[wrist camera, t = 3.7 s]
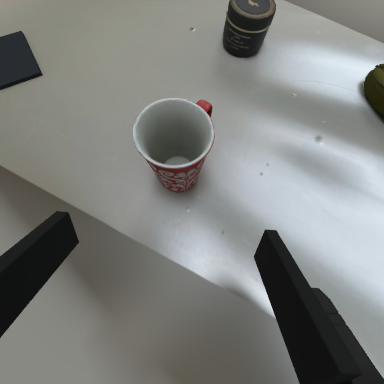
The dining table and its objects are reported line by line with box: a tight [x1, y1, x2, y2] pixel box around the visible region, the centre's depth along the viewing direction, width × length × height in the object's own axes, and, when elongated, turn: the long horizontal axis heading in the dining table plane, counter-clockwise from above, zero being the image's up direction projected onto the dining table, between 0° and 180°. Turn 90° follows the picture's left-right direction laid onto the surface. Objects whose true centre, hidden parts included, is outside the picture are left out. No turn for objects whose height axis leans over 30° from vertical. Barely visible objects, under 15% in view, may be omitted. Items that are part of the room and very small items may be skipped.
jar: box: [223, 0, 276, 57], centre depth 37 cm, size 10×10×8 cm
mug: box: [133, 98, 215, 192], centre depth 25 cm, size 13×9×14 cm
